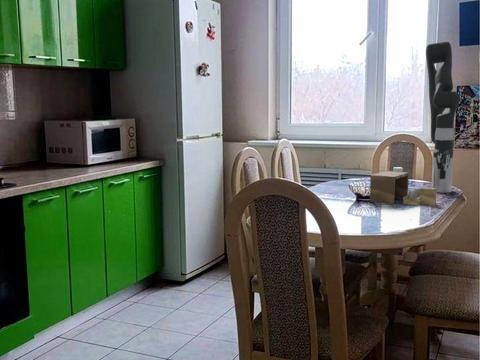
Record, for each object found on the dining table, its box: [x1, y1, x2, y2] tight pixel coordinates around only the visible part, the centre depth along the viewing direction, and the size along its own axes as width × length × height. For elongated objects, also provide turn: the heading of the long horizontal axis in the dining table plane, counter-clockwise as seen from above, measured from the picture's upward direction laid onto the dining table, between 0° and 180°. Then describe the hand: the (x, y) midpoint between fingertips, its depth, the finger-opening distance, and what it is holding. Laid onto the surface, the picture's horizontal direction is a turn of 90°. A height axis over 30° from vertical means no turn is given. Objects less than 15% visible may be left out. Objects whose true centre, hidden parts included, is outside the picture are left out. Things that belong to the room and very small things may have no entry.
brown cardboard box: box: [369, 170, 410, 205], centre depth 250 cm, size 18×11×12 cm, turn 143°
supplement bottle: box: [392, 166, 404, 172], centre depth 269 cm, size 7×7×13 cm
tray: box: [402, 187, 438, 206], centre depth 242 cm, size 12×12×7 cm
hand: (442, 178), depth 236 cm, fingers closed
